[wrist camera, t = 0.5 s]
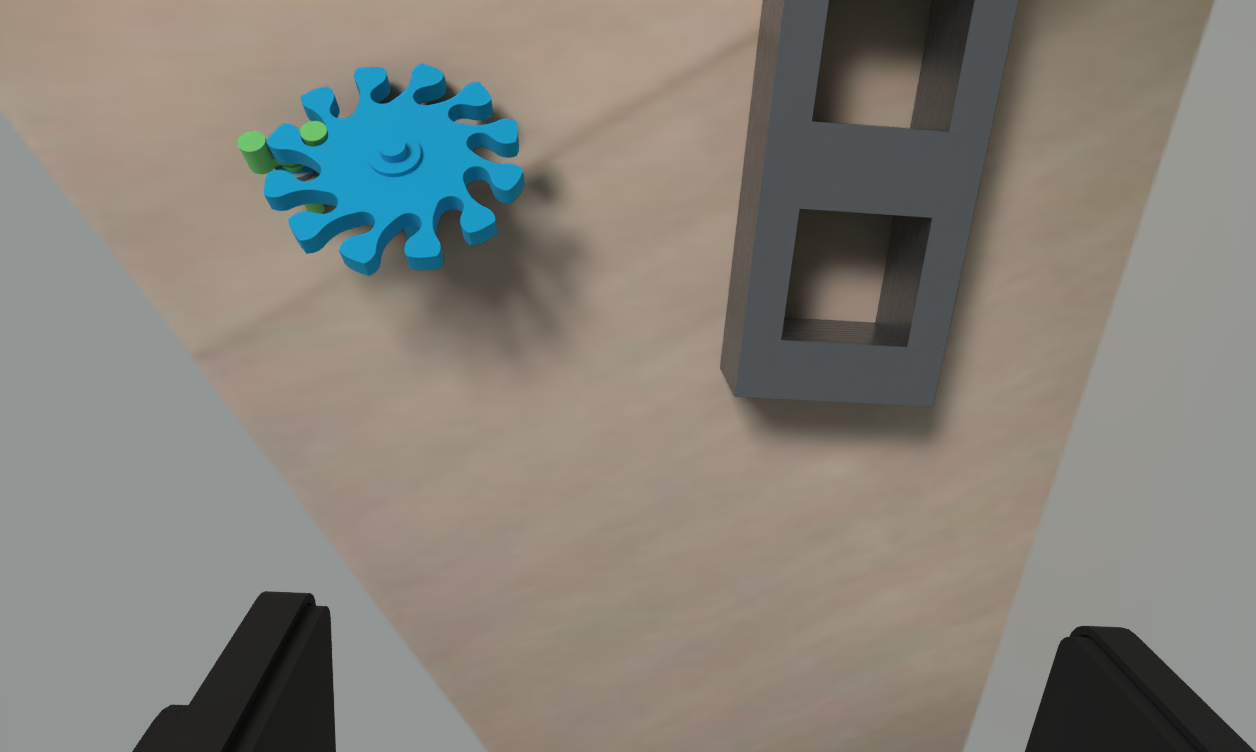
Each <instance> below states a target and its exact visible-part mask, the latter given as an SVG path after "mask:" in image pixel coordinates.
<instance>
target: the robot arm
mask: <svg viewBox="0 0 1256 752" xmlns="http://www.w3.org/2000/svg"><path fill="white" fill-rule="evenodd" d="M133 752H336V744H335V719H334V692H333V669H332V641H331V617H330V610H329V608H328V607H327V606H316V603H315V599H314V596H313V595H312V594H311V593H291V592H267V591H265V592H263V593H261V594H260V595H259V596H258V598H257V599H256V601H255V602H254V604H253V605H252V607H251V608H250V610H249V611H248V613H247V615H246V616H245V618H244V619H243V621H242V622H241V624H240V626H239V627H238V629H237V630H236V632H235V633H234V635H233V637H232V638H231V640H230V641H229V643H228V644H227V646H226V647H225V649H224V651H223V652H222V654H221V655H220V657H219V658H218V660H217V661H216V663H215V665H214V666H213V668H212V669H211V671H210V672H209V674H208V676H207V677H206V679H205V680H204V682H203V683H202V685H201V687H200V688H199V690H198V691H197V693H196V694H195V696H194V698H193V699H192V701H191V702H190V704H189V705H170V706H168V707H167V708H165V709H163V710H162V711H161V712H160V713H159V715H158V716H157V717H156V718H155V719H154V720H153V722H152V723H151V725H150V727H149V728H148V729H147V731H146V732H145V734H144V735H143V737H142V738H141V740H140V741H139V743H138V744H137V745H136V747H135V748H134V750H133ZM1025 752H1255V751H1254V750H1253V749H1252V748H1251V747H1250V746H1249V745H1248V744H1247V743H1246V742H1245V741H1244V740H1243V739H1242V738H1241V737H1240V736H1239V735H1238V734H1237V733H1236V732H1235V731H1234V730H1233V729H1231V727H1229V725H1227V724H1226V723H1225V722H1224V721H1223V720H1222V719H1221V718H1220V717H1219V716H1218V715H1217V714H1216V713H1215V712H1214V711H1213V710H1212V709H1211V708H1210V707H1209V706H1208V705H1207V704H1206V703H1205V702H1204V701H1203V700H1202V699H1201V698H1200V697H1199V696H1198V695H1197V694H1196V693H1195V692H1194V691H1193V690H1192V689H1191V688H1190V687H1189V686H1187V684H1186V683H1185V682H1184V681H1182V680H1181V679H1180V678H1179V677H1178V676H1177V675H1176V674H1175V673H1174V672H1173V671H1172V670H1171V669H1170V668H1169V667H1168V666H1167V665H1166V664H1165V663H1164V662H1163V661H1162V660H1161V659H1160V658H1159V657H1158V656H1157V655H1156V654H1155V653H1154V652H1153V651H1152V650H1151V649H1150V648H1149V647H1148V646H1147V645H1146V644H1145V643H1144V642H1143V641H1142V640H1141V639H1140V638H1139V637H1137V636H1136V634H1134V633H1133V632H1131V631H1130V630H1129V629H1125V628H1121V627H1098V626H1080V627H1077V628H1076V629H1074V631H1073V632H1072V633H1071V635H1070V637H1066V638H1064V639H1063V640H1062V641H1061V642H1060V644H1059V646H1058V649H1057V652H1056V655H1055V659H1054V662H1053V665H1052V668H1051V671H1050V674H1049V677H1048V681H1047V684H1046V687H1045V690H1044V693H1043V696H1042V699H1041V703H1040V706H1039V709H1038V712H1037V715H1036V718H1035V722H1034V725H1033V728H1032V731H1031V734H1030V737H1029V740H1028V743H1027V747H1026V750H1025Z"/></svg>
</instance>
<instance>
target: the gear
mask: <svg viewBox="0 0 1256 752" xmlns="http://www.w3.org/2000/svg"><path fill="white" fill-rule="evenodd" d="M354 79H355V82H356V85H357V88H358V91H359V94H360V100H359V103H358V106H357V108H356V110H355V112H354V114H353V115H351V116H350V117H347V118H337V117H338V115H339V107H338V104H337V101H336V98H335V95H334V93H333V91H332V90H331V89H330V88H329V87H327V86H326V87H321V88H317V89H314V90H312V91H310V92H308V93H306V94H304V95H302V96H301V102H302V104H303V107H304V109H305V112H306V114H307V117H308V118H309V120H311V121H310V122H308V123H306V124H304V125H303V126H302V127H301V129H300V132H299V130H298V128H297V127H295V126H294V125H291V124H285V123H284V124H282V125H281V126H279V127H278V128H277V129H276V130H275V131H274V132H273V133H272V134H271V135H270V137H269V138H268V140H266V138H265V136H264V135H263V134H262V133H260V132H257V131H249V132H246V133H244V134H243V135H241V136H240V137H239V139H238V147H239V148H240V150H241V152H242V154H243V156H244V158H245V159H246V161H247V163H248V165H249V167H250V169H251V170H252V171H253V172H254V173H257V174H266V173H268V175H267V176H266V179H265V185H264V195H265V197H266V199H267V201H268V203H269V204H270V206H271V208H272V209H274V210H278V211H285V210H289V209H291V208H294V207H296V206H300V205H303V204H305V206H306V208H307V210H308V212H299V213H297V214H294V215H293V216H291V217H290V218H289V219H288V221H289V225H290V228H291V230H292V232H293V234H294V236H295V238H296V239H297V241H298V243H299V245H300V246H301V247H302V249H303V250H304V251H305V252H306V253H314V252H317V251H319V250H320V249H322V248H323V247H324V246H325V245H326V243H327V242H328V241H329V240H331V239H332V238H333V237H334V236H336V235H337V234H339V233H341V232H343V231H345V230H348V229H351V228H354V227H358V226H362V225H372V226H374V227H373V228H372V229H371V230H370V231H369V232H367V233H364V234H360V235H356V236H352V237H350V238H348V239H346V240H345V241H344V242H343V243H342V244H341V246H340V249H339V252H340V254H341V256H342V258H343V261H344V263H345V264H346V265H347V266H348V267H349V268H351V269H352V270H354V271H357V272H359V273H362V274H365V275H368V276H370V275H372V274H374V273H375V272H376V271H377V270H378V268H379V267H380V264H381V256H382V253H383V251H384V249H385V247H386V245H387V244H388V242H389V241H390V240H391V239H392V238H393V237H394V236H395V235H396V234H398V233H399V232H400V231H401V230H403V229H404V231H405V234H406V237H407V242H406V244H405V248H404V250H405V254H406V257H407V260H408V263H409V266H410V268H411V269H416V270H432V269H440V268H441V267H442V265H443V262H444V257H443V253H442V249H441V245H440V242H439V240H438V239H437V237H436V229H437V225H438V222H439V220H440V217H441V215H442V214H443V213H444V212H446V211H448V210H453V209H455V210H459V211H461V212H462V215H461V219H460V223H461V228H462V233H463V237H464V239H465V241H466V242H467V243H468V244H470V245H471V246H473V245H477V244H480V243H483V242H485V241H487V240H489V239H490V238H492V237H493V236H495V235H497V226H496V220H495V216H494V214H493V212H492V211H491V210H490V209H488V208H486V207H484V206H482V205H480V204H479V203H477V202H476V201H475V200H474V199H473V198H472V197H471V196H470V194H469V193H468V191H467V189H466V186H467V185H468V184H469V183H470V182H472V181H475V180H483V181H485V182H487V183H488V184H489V185H490V186H491V189H492V192H493V194H494V196H495V198H496V199H497V200H499V201H500V202H502V203H506V204H510V203H512V202H513V201H514V200H515V199H516V198H517V197H518V196H519V194H520V192H521V191H522V189H523V187H524V174H523V170H522V169H521V168H520V167H518V166H517V165H514V164H501V163H494V162H491V161H488V160H485V159H483V158H481V157H480V156H478V155H476V154H475V153H474V152H472V150H473V149H475V148H477V147H486V148H489V149H491V150H492V151H493V152H495V153H496V154H497V155H499V156H502V157H506V158H510V157H515V156H517V154H518V151H519V139H518V128H517V123H516V121H515V120H513V119H501V120H498V121H496V122H493V123H490V124H485V125H467V124H461V123H456V122H454V121H456V120H458V119H463V118H464V119H471V120H478V121H479V120H485V119H488V118H489V117H491V116H492V115H493V109H492V101H491V97H490V95H489V93H488V91H487V90H486V89H485V88H484V87H483V86H482V85H481V84H480V83H479V82H474V83H470V84H468V85H466V86H465V87H464V88H463V89H462V90H461V92H459V93H458V94H457V95H456V96H454V97H453V98H451V99H449V100H446V101H444V102H440V103H437V104H432V105H426V106H425V105H420V104H422V103H424V102H428V101H433V100H437V99H439V98H441V97H442V96H444V94H445V93H446V89H447V88H446V83H445V77H444V73H442V72H441V71H440V70H438V69H436V68H434V67H431V66H428V65H425V64H420V65H418V66H416V67H415V68H414V69H413V71H412V77H411V81H410V83H409V85H408V87H407V88H406V89H405V91H404V92H403V93H402V94H400V95H399V96H398V97H397V98H395V99H394V100H392V101H391V102H389V103H386V104H379V102H381V101H382V100H383V99H385V98H386V97H387V96H388V95H389V93H390V89H391V88H390V84H389V81H388V77H387V73H386V70H385V69H383V68H378V67H366V68H358V69H357V70H356V71H355V73H354ZM274 168H275V170H274V171H272V170H273V169H274ZM324 204H328V205H333V206H337V207H336V208H335V209H334V210H333V211H331V212H329V213H326V214H322V213H323V212H324V211H325V206H324Z"/></svg>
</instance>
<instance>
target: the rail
mask: <svg viewBox="0 0 1256 752" xmlns="http://www.w3.org/2000/svg"><path fill="white" fill-rule="evenodd" d="M828 4H829V0H763V3H762V12H761V21H760V29H759V38H758V46H757V55H756V63H755V72H754V81H753V89H752V98H751V106H750V115H749V124H748V132H747V141H746V149H745V158H744V166H743V175H742V184H741V192H740V201H739V209H738V218H737V227H736V235H735V244H734V252H733V261H732V269H731V278H730V287H729V295H728V304H727V312H726V321H725V330H724V338H723V347H722V355H721V364H720V369H721V371H722V373H723V375H724V377H725V379H726V381H727V383H728V385H729V386H730V388H731V390H732V392H733V394H734V396H735V397H747V398H767V399H787V400H807V401H827V402H846V403H866V404H886V405H906V406H926V407H933V404H934V399H935V394H936V389H937V385H938V380H939V375H940V370H941V366H942V361H943V356H944V351H945V347H946V342H947V337H948V332H949V328H950V323H951V318H952V313H953V309H954V304H955V299H956V294H957V290H958V285H959V280H960V275H961V271H962V266H963V261H964V256H965V252H966V247H967V242H968V237H969V233H970V228H971V223H972V218H973V214H974V209H975V204H976V199H977V195H978V190H979V185H980V180H981V175H982V171H983V166H984V161H985V156H986V152H987V147H988V142H989V137H990V133H991V128H992V123H993V118H994V114H995V109H996V104H997V99H998V95H999V90H1000V85H1001V80H1002V76H1003V71H1004V66H1005V61H1006V57H1007V52H1008V47H1009V42H1010V38H1011V33H1012V28H1013V23H1014V19H1015V14H1016V9H1017V4H1018V0H933V5H932V10H931V16H930V21H929V27H928V33H927V38H926V44H925V49H924V55H923V60H922V66H921V72H920V77H919V83H918V88H917V94H916V100H915V105H914V111H913V116H912V122H911V127H910V128H899V127H886V126H873V125H860V124H847V123H834V122H821V121H812V117H813V110H814V103H815V96H816V89H817V82H818V75H819V67H820V60H821V53H822V46H823V39H824V32H825V25H826V18H827V11H828ZM800 209H812V210H827V211H841V212H856V213H870V214H885V215H895V217H894V222H893V228H892V234H891V239H890V245H889V250H888V256H887V261H886V267H885V273H884V278H883V284H882V289H881V295H880V301H879V306H878V312H877V317H876V323H869V322H851V321H834V320H817V319H799V318H784V316H785V309H786V302H787V295H788V288H789V281H790V273H791V266H792V259H793V252H794V245H795V238H796V231H797V224H798V217H799V210H800Z"/></svg>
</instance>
